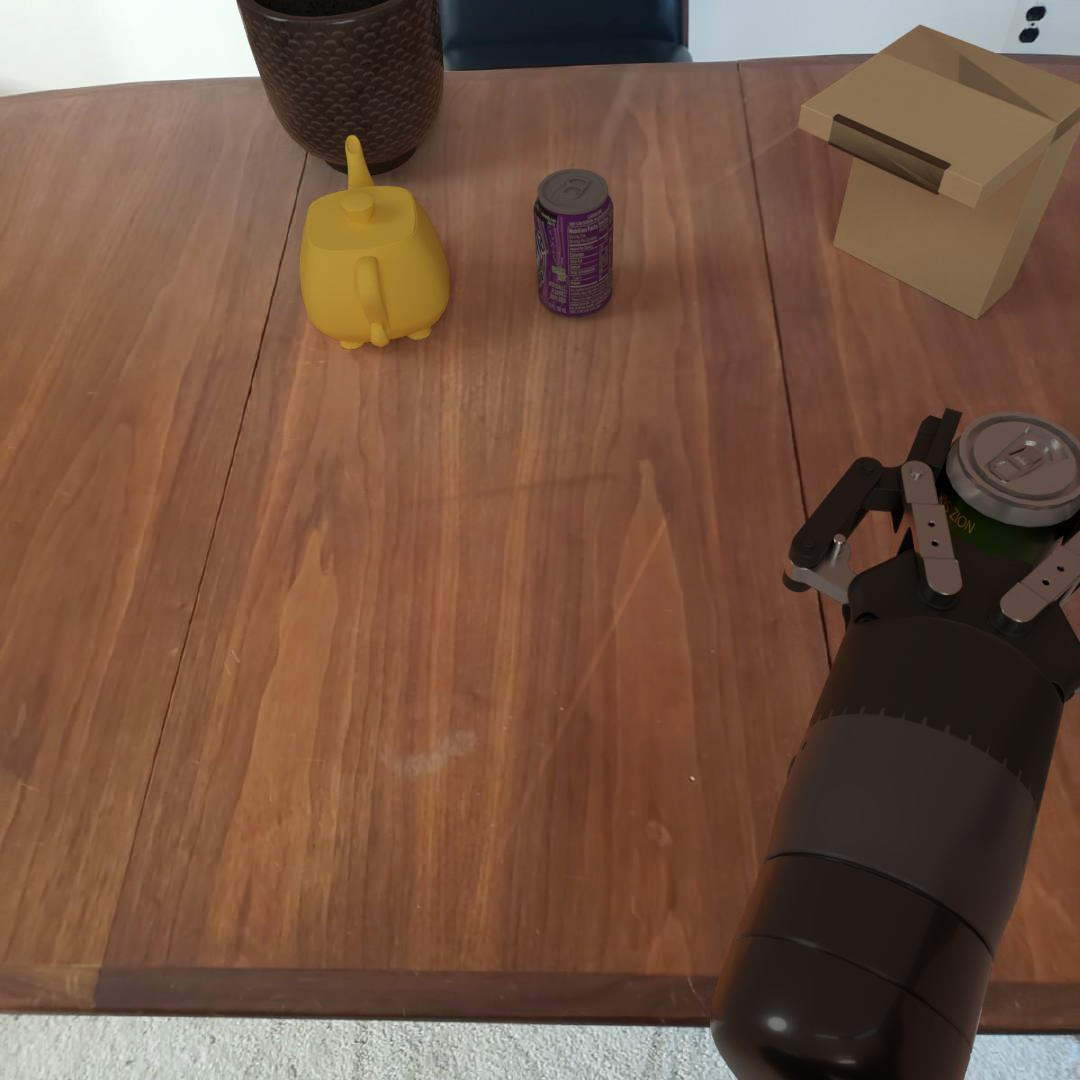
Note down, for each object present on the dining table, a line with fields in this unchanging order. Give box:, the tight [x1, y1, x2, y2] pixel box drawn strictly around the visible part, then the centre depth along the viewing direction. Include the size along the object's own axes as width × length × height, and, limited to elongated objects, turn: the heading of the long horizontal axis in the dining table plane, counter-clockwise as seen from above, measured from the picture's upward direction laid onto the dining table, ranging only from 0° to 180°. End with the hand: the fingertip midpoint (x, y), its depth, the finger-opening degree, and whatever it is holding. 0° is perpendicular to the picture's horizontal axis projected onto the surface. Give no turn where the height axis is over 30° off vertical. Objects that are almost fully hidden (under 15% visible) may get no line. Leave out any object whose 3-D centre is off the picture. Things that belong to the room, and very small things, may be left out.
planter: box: [235, 0, 445, 176], centre depth 102 cm, size 20×20×19 cm
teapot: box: [299, 135, 451, 350], centre depth 89 cm, size 14×20×13 cm
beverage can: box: [532, 168, 614, 318], centre depth 89 cm, size 7×7×12 cm
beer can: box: [935, 410, 1080, 571], centre depth 43 cm, size 5×5×12 cm
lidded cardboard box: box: [797, 24, 1080, 321], centre depth 85 cm, size 20×16×20 cm
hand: (1019, 446), depth 41 cm, fingers closed on beer can, 5 cm apart
